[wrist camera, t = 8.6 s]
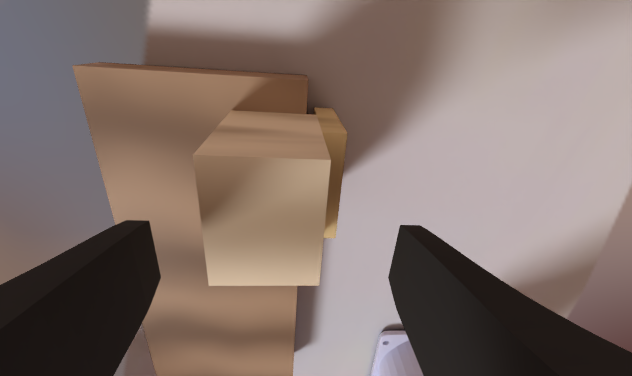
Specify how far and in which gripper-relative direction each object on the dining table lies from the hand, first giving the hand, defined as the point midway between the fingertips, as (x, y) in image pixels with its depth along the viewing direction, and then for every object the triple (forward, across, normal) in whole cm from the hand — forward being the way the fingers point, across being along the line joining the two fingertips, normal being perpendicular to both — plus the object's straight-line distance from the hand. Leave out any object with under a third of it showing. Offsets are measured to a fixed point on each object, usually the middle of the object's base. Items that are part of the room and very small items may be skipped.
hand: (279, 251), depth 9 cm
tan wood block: (+9, 0, 0) cm, 9 cm away
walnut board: (+9, +4, +7) cm, 12 cm away
